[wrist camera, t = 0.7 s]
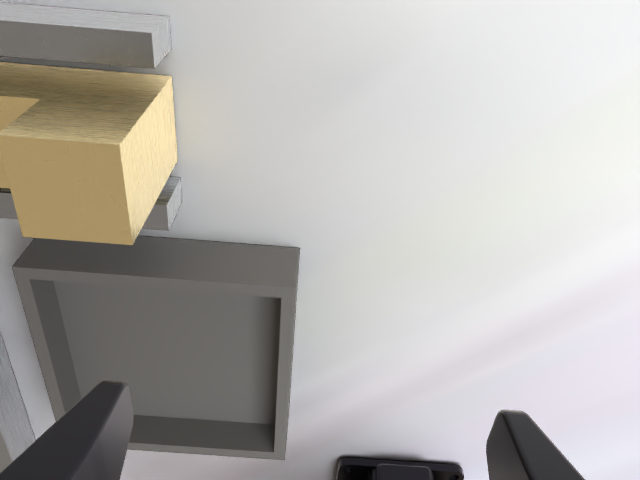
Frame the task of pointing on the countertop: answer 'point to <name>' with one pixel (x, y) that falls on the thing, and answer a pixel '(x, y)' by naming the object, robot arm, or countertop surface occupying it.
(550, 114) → the countertop surface
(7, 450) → the socket collar
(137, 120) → the tan boxy piece
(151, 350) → the gray square tray
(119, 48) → the key guide
